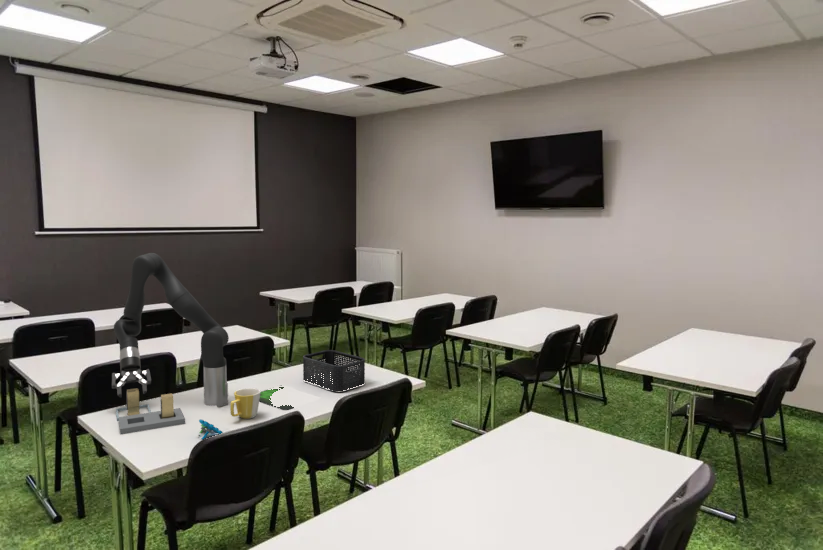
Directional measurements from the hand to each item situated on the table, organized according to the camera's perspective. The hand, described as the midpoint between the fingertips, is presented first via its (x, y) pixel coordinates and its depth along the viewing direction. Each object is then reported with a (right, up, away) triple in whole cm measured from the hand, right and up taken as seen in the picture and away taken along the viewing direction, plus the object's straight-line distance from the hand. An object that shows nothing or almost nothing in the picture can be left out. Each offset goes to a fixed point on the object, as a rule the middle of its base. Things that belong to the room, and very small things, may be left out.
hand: (132, 394), depth 214 cm
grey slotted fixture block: (+13, -10, -10) cm, 19 cm away
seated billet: (+17, -9, -7) cm, 21 cm away
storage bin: (+75, -6, +48) cm, 89 cm away
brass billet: (+1, -8, -1) cm, 8 cm away
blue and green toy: (+39, -12, -19) cm, 44 cm away
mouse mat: (+56, -8, +26) cm, 62 cm away
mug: (+45, -10, +1) cm, 46 cm away
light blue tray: (+1, -8, -1) cm, 8 cm away
